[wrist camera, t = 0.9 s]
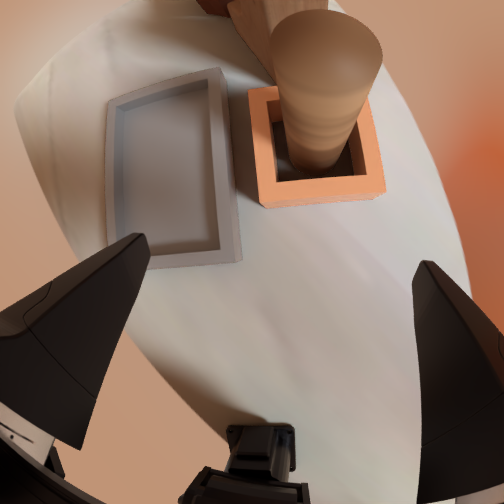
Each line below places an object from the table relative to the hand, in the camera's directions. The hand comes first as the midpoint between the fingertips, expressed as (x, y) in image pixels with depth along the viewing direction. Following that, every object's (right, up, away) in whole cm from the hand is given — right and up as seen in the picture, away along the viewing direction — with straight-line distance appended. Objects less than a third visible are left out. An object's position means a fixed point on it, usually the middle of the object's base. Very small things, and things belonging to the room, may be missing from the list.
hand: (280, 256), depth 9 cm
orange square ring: (+4, +8, +13) cm, 16 cm away
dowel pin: (+4, +8, +13) cm, 16 cm away
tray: (-8, +7, +15) cm, 18 cm away
